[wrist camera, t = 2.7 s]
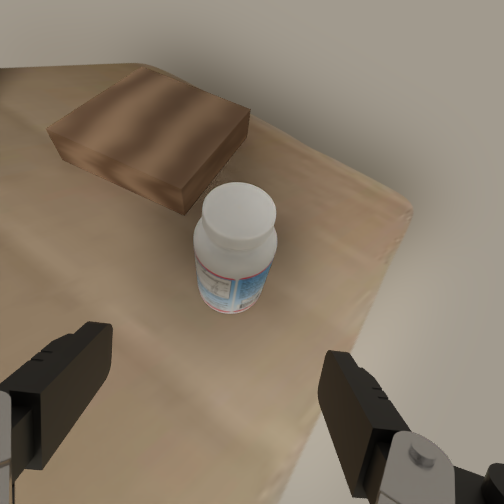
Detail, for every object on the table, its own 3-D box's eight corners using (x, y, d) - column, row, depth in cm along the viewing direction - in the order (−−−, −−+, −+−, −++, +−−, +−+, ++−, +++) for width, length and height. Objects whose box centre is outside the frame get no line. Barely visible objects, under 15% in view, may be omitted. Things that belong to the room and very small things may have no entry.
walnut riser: (62, 159, 32) (45, 128, 29) (147, 96, 41) (141, 66, 37) (184, 215, 30) (181, 189, 27) (246, 136, 39) (250, 109, 35)
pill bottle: (255, 255, 29) (278, 172, 19) (265, 312, 26) (298, 246, 16) (195, 259, 28) (189, 172, 18) (198, 319, 25) (192, 252, 15)
